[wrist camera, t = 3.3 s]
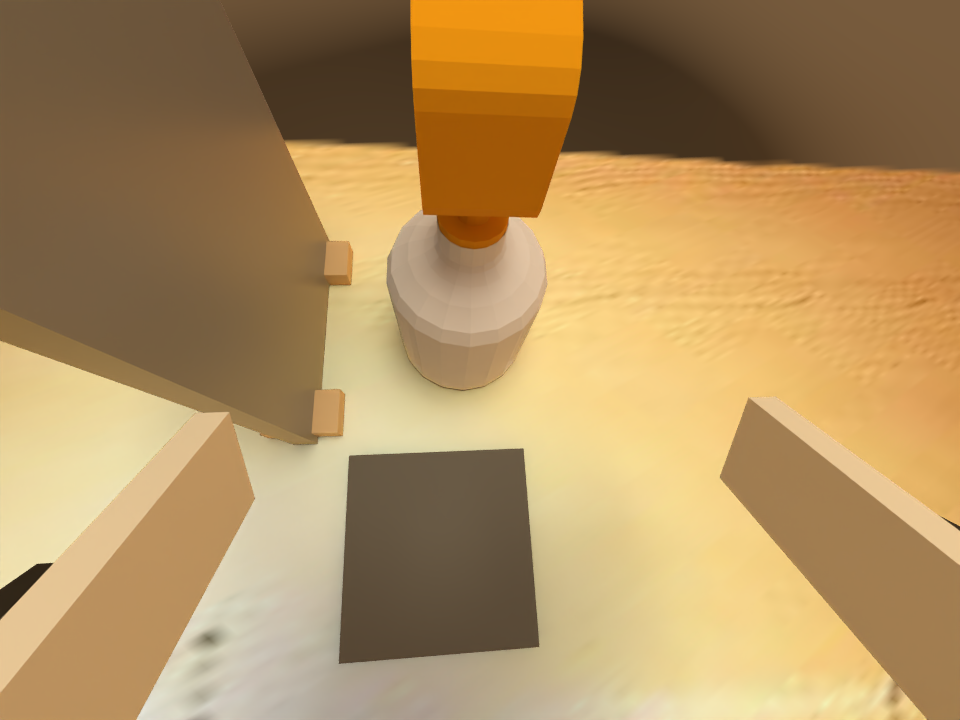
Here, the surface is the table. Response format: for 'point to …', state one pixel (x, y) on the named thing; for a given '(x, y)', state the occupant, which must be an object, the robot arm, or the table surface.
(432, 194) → the soap bottle
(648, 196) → the table surface
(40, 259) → the divider
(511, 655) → the table surface
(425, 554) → the coaster
